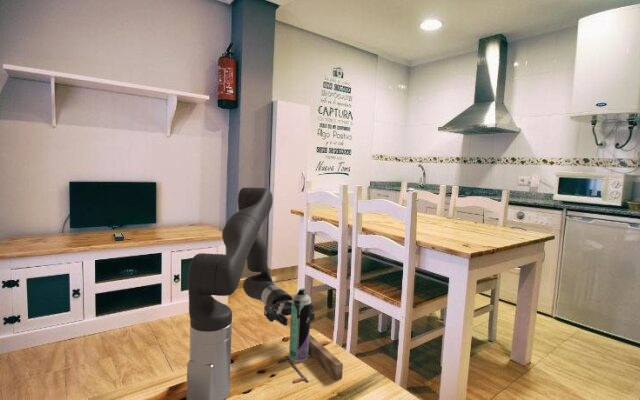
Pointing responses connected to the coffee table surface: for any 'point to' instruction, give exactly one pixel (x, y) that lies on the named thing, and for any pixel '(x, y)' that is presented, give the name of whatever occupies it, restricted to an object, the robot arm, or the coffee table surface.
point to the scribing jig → (320, 360)
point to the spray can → (300, 326)
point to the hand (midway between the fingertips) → (300, 319)
